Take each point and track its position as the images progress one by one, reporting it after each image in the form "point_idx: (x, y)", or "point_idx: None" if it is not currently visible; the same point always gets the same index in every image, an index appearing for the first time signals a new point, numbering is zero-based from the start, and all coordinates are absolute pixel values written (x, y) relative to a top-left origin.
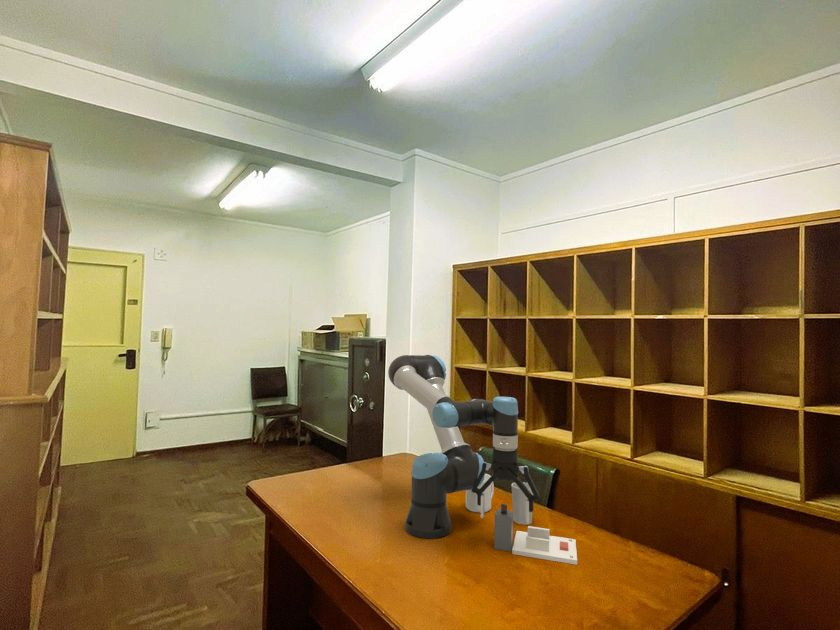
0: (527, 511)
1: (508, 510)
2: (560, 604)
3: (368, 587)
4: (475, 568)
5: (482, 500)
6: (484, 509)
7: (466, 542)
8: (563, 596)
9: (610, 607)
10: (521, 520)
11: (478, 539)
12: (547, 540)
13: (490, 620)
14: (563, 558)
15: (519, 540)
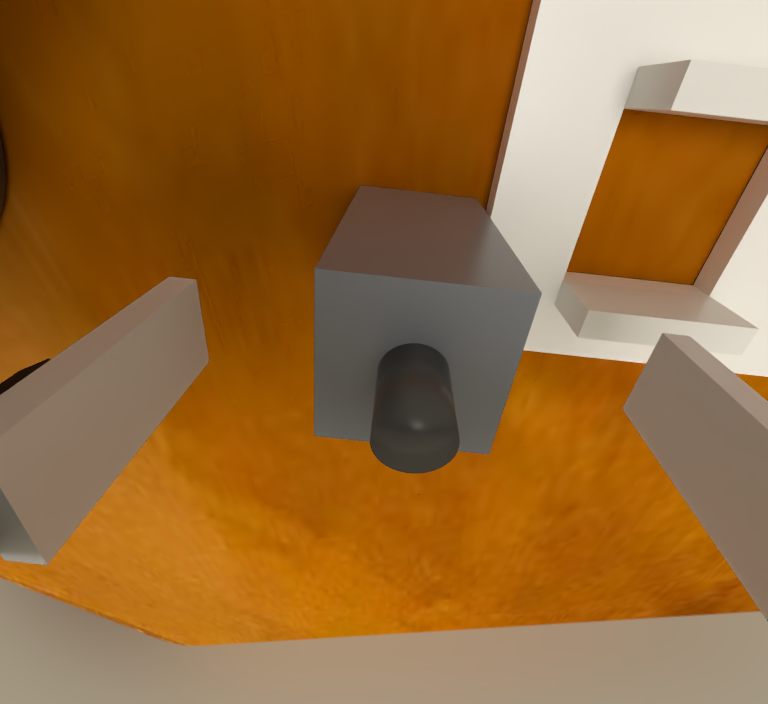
0: (705, 508)
1: (477, 287)
2: (573, 581)
3: (41, 581)
4: (295, 470)
5: (86, 503)
6: (164, 305)
7: (174, 249)
8: (599, 555)
9: (731, 577)
10: None
11: (233, 180)
12: (735, 346)
13: (375, 631)
14: (749, 372)
15: (534, 194)
